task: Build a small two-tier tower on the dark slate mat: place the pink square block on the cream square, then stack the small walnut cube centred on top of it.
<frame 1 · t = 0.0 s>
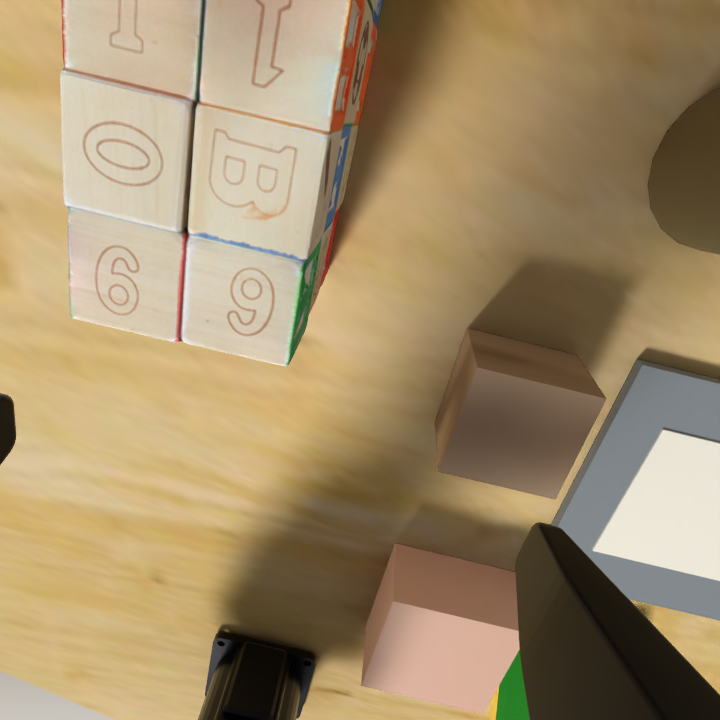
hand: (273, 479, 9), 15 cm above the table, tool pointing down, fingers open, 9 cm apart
slate mat: (694, 502, 26), on the table
dish sponge: (547, 685, 34), on the table
pink square block: (436, 595, 31), on the table
walnut cube: (502, 388, 24), on the table
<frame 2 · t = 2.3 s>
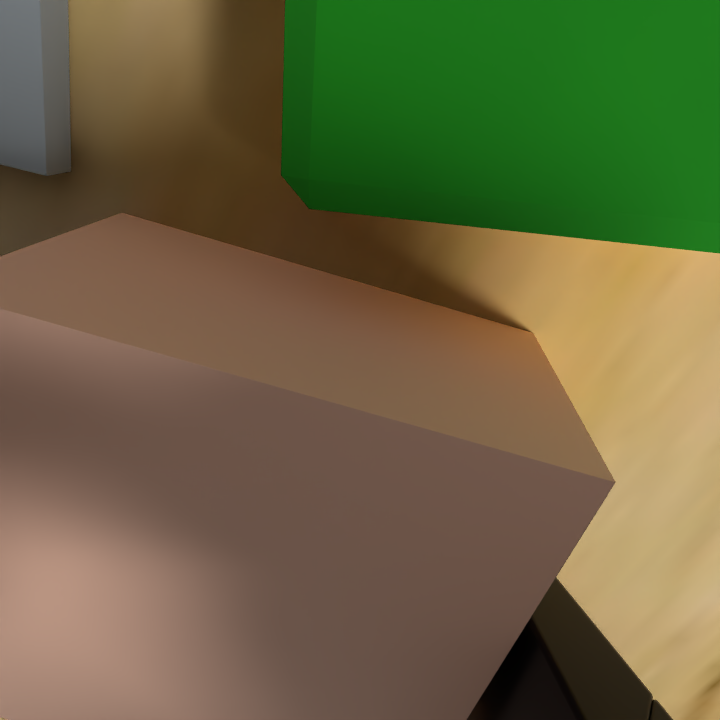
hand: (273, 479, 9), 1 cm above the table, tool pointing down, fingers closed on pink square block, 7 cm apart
pink square block: (289, 436, 10), on the table, touching gripper
when the fingers open (3 cm above the table, at t = 7.1 s): pink square block drops 1 cm, resting on slate mat.
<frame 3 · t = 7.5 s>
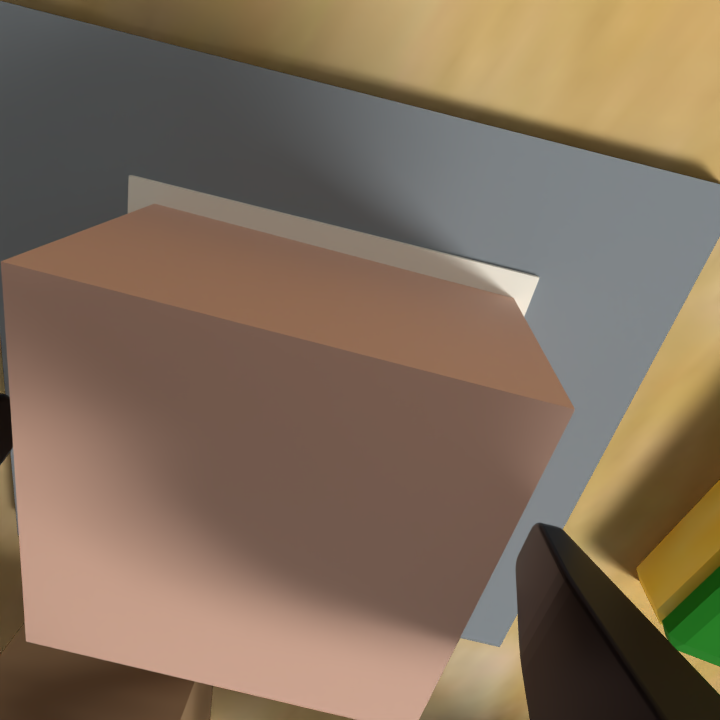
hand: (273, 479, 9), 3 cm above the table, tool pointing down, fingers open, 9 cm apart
slate mat: (305, 387, 12), on the table
pink square block: (301, 405, 11), point 1 cm above the table, touching slate mat
walnut cube: (137, 653, 17), on the table
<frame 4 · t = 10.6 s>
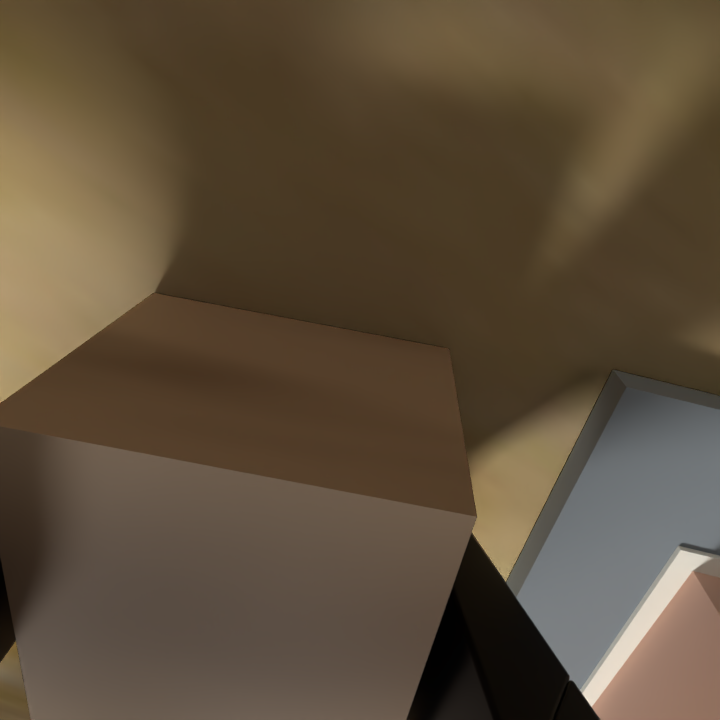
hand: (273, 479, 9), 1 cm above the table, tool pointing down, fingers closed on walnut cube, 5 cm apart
walnut cube: (285, 443, 10), on the table, touching gripper
when the fingers open (7 cm above the table, at t = 15.0 s): walnut cube stays where it is, resting on pink square block.
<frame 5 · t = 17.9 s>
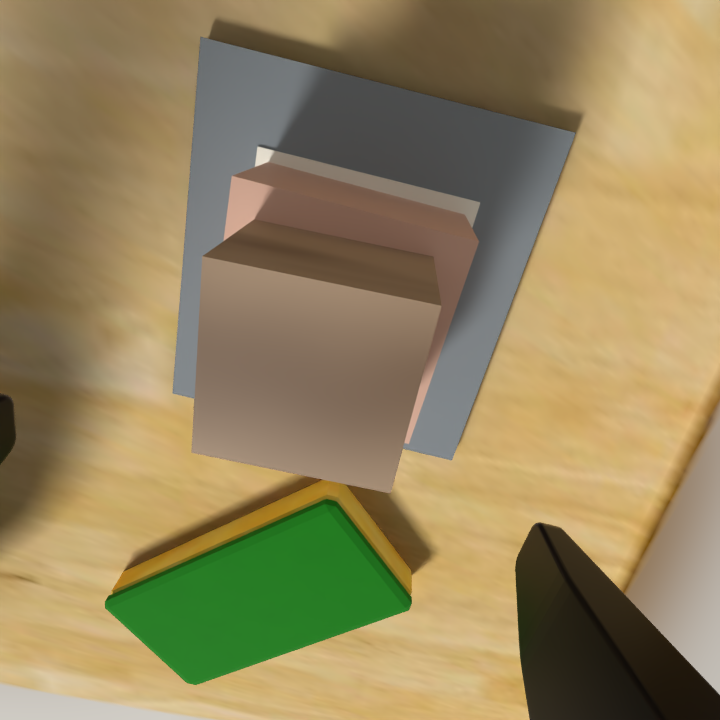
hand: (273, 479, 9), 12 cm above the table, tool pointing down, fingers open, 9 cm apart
slate mat: (347, 276, 20), on the table
dish sponge: (265, 564, 27), on the table
pink square block: (344, 283, 19), point 1 cm above the table, touching slate mat, walnut cube
walnut cube: (329, 321, 15), point 5 cm above the table, touching pink square block
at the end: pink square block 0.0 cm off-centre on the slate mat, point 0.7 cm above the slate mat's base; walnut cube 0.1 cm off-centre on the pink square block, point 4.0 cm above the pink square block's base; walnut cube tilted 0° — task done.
